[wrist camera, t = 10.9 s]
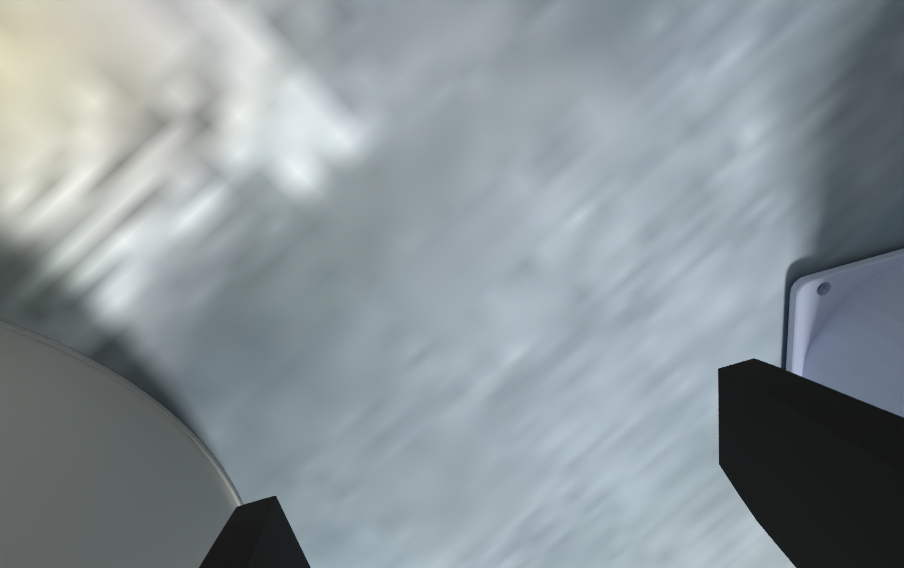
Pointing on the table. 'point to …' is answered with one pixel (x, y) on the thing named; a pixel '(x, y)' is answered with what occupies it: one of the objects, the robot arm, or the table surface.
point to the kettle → (98, 467)
